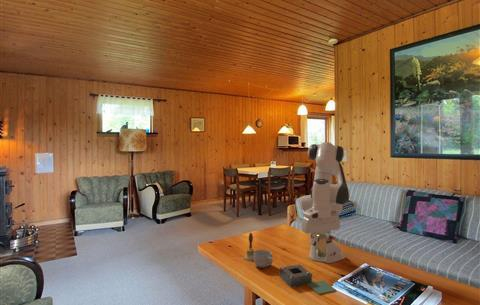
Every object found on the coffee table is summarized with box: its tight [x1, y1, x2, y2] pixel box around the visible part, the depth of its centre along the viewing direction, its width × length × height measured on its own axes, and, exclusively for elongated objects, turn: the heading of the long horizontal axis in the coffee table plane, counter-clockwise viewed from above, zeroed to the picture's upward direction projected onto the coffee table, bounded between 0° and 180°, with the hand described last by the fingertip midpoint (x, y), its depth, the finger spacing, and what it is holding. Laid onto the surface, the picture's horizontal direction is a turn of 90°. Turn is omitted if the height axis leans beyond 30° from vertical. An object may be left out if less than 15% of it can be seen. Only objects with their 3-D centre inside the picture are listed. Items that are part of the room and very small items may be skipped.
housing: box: [279, 263, 313, 289], centre depth 143 cm, size 12×12×6 cm
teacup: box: [253, 249, 274, 269], centre depth 159 cm, size 14×11×8 cm
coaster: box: [306, 279, 337, 295], centre depth 135 cm, size 10×10×1 cm
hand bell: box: [243, 232, 255, 262], centre depth 171 cm, size 8×8×16 cm
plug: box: [316, 233, 326, 257], centre depth 135 cm, size 5×5×10 cm
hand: (321, 239), depth 134 cm, fingers closed on plug, 5 cm apart
